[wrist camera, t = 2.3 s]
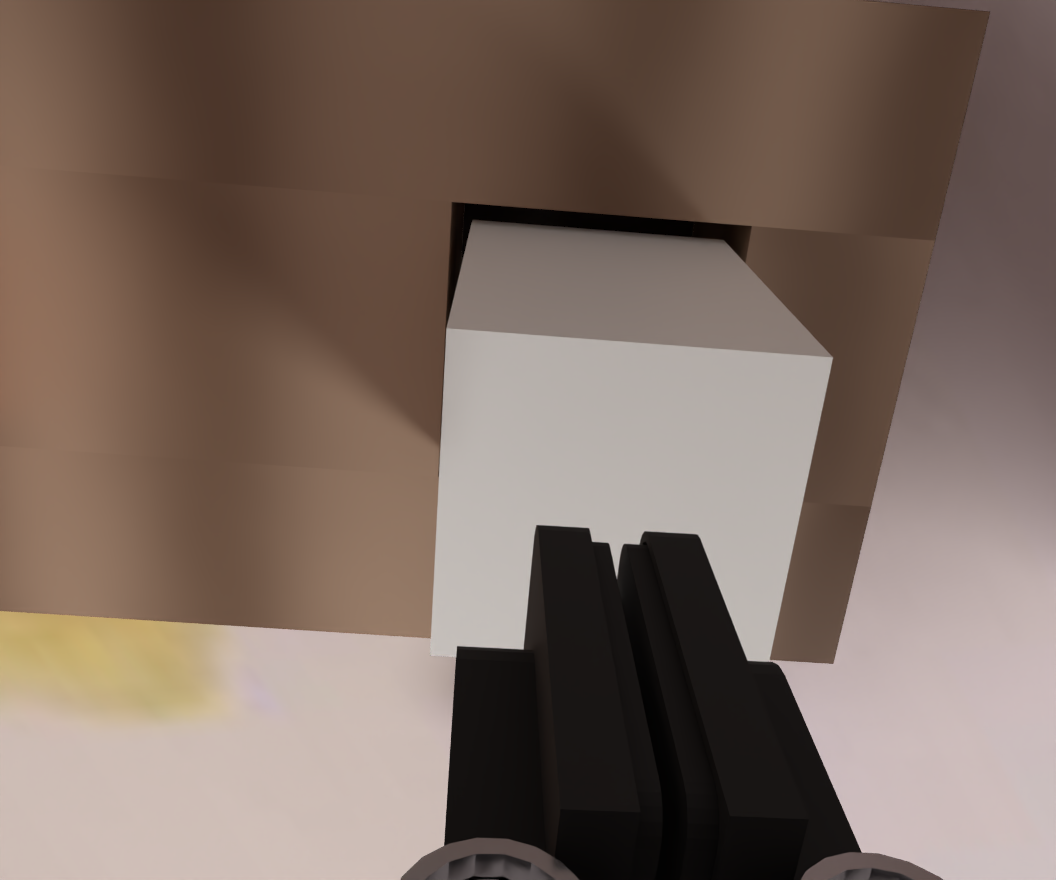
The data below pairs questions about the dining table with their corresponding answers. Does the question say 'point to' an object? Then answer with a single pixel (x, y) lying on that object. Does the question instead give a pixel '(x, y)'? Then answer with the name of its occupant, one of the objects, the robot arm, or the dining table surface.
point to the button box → (409, 265)
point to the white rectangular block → (617, 418)
